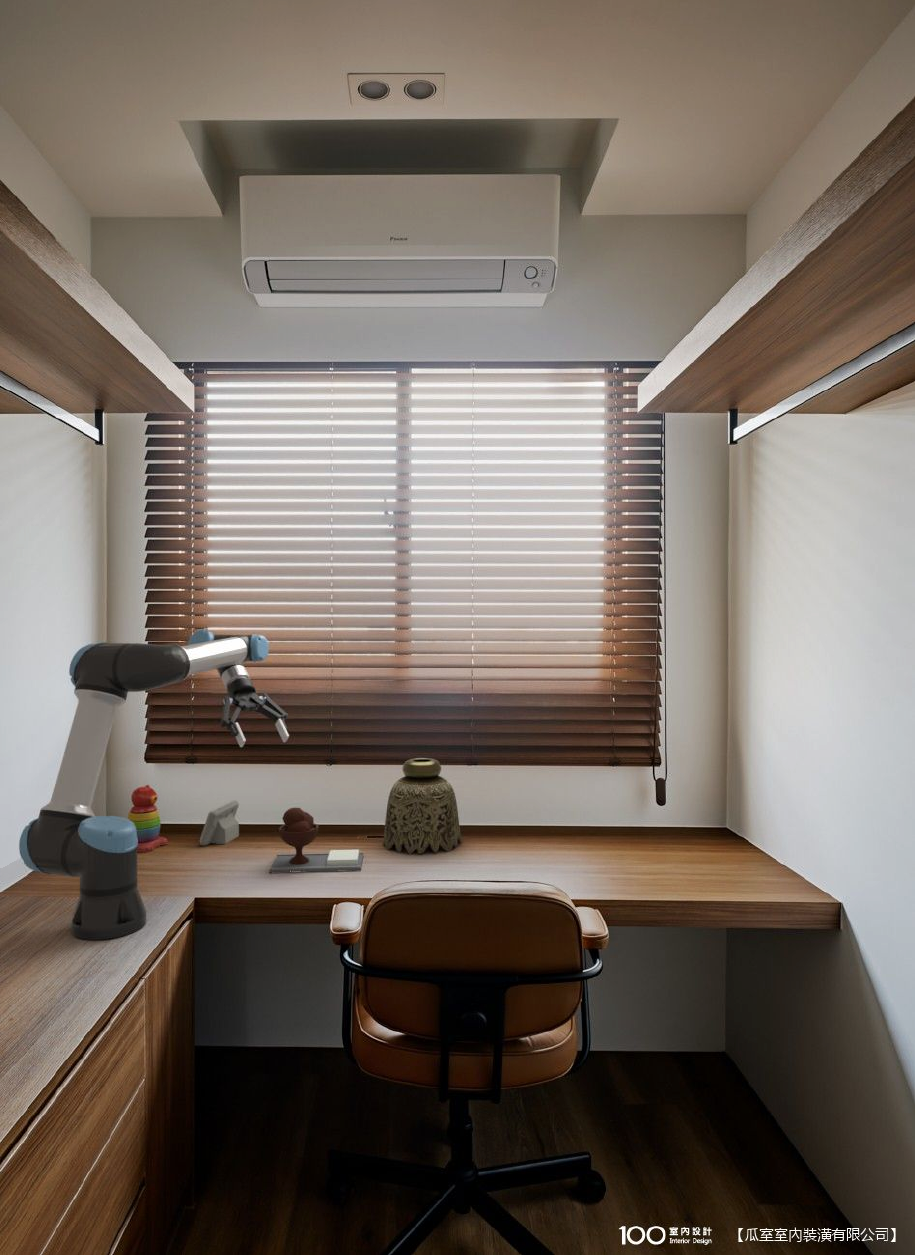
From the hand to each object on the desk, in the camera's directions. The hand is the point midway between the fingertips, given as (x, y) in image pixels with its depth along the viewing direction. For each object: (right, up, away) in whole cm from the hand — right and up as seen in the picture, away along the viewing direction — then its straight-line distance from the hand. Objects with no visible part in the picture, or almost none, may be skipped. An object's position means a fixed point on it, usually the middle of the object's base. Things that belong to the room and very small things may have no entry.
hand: (265, 741), depth 225 cm
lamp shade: (+43, -33, +16) cm, 56 cm away
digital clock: (-19, -33, +20) cm, 43 cm away
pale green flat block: (+22, -33, -4) cm, 40 cm away
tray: (+15, -33, -4) cm, 37 cm away
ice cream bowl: (+10, -32, -5) cm, 34 cm away
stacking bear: (-39, -33, +13) cm, 53 cm away
